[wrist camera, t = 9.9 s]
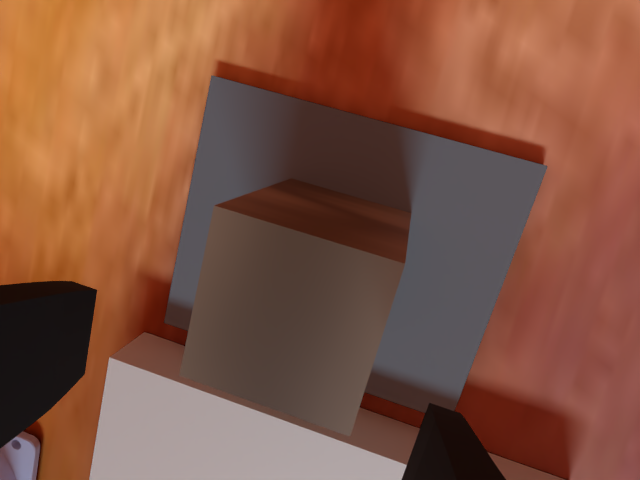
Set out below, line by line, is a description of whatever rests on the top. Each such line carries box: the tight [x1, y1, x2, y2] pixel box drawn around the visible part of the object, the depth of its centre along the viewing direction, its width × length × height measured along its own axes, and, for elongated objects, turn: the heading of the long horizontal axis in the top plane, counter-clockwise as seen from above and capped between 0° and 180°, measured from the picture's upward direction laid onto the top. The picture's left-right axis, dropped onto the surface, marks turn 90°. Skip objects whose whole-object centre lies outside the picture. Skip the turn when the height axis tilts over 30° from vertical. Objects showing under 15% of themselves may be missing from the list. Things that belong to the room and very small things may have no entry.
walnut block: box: [179, 178, 411, 437], centre depth 15 cm, size 4×4×7 cm
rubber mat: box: [164, 76, 547, 413], centre depth 18 cm, size 12×10×1 cm
